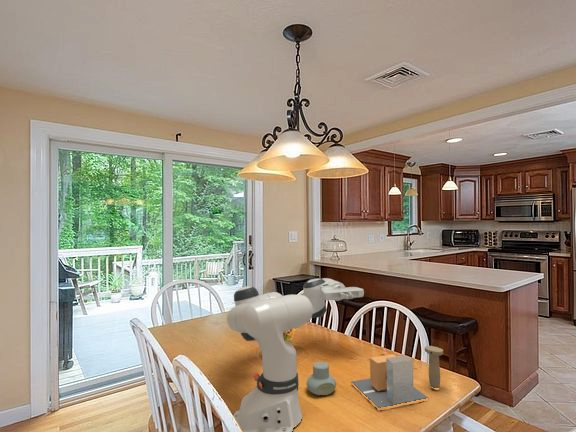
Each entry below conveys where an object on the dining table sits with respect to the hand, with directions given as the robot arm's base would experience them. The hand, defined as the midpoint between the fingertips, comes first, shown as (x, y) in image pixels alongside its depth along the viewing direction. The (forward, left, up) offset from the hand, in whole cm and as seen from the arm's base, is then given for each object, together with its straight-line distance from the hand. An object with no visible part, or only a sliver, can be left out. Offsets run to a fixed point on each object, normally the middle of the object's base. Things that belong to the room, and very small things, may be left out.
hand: (350, 297), depth 145 cm
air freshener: (-21, -16, -30) cm, 40 cm away
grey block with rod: (+2, -26, -29) cm, 39 cm away
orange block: (+2, -23, -28) cm, 37 cm away
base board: (+2, -25, -30) cm, 39 cm away
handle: (+20, -28, -30) cm, 46 cm away
